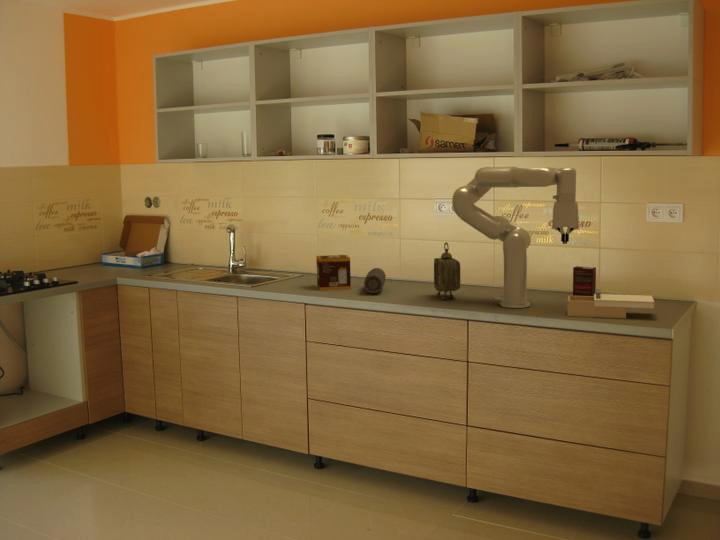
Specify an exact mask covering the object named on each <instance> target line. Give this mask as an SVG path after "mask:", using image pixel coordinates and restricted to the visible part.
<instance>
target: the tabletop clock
mask: <svg viewBox="0 0 720 540" xmlns="http://www.w3.org/2000/svg"><path fill="white" fill-rule="evenodd" d="M449 246H450V245H449V244H448V242H447V241H446V242H444V244H443V247H444V252H443V253H441V255H440V257H434V258H433V259H434V261H433V283H434V289H435V290H436V291H437V293H436V295H437V296H438V297H439V296H440V295H441V293H442V292H444V293H443V296H442V297H441V300H442V301H445V300H447V299H446V294H447V293H448V292H449V298H454V295H453V294H452V292H456V291H458V290H461V289H460V288H461V263H460V261H459V260H457V259H456V258H453V255H452V254H451V253H450V252H449ZM446 247H447V248H446Z"/></svg>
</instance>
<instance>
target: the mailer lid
mask: <svg viewBox="0 0 720 540" xmlns="http://www.w3.org/2000/svg"><path fill="white" fill-rule="evenodd" d="M653 297H654V296H653V295H642V294H641V295H640V294H639V295H637V294H636V295H635V294H634V295H633V294H613V293H612V294H607V293H606V294H605V293H601V289H600V288H596V294H594V306H603V307H626V308H634V309H654V308H655V300H654V298H653Z"/></svg>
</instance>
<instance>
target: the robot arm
mask: <svg viewBox="0 0 720 540" xmlns="http://www.w3.org/2000/svg"><path fill="white" fill-rule="evenodd" d="M555 185H556V194H555V195H552V199H553V200H555V201H554V203H553V208H552V209H553V210H552V218H551V219H552V226H551V229H552V230H556V231H558V232H559V233H560V234H561V235H560V239H561V240H560V241H561V242H562V245H567V244H568V243H569V241H570V240H569V239H570V234H571V233H572V232H573V231H575V230H580V229H579V228H580V227H579V205H578V201H576V196H577V194H576V192H577V191H576V190H577V170H576V168H574V167H560V168H557V167H552V166H551V167H550V166H549V167H547V166H546V167H537V168H536V167H535V168H533V167H532V168H529V167H528V168H526V167H525V168H524V167H523V168H522V167H518V166H492V167H491V166H483V167H480V168H479V169H478V170H476V171H475V173H474V177H473V179H472V180H471V181H469V182H468V183H467V184H466V185H463V186H459V187H458V188H457V189H456V190H455V191H454V192H453V195H452V199H451V203H452V208H453V211H454V213H455V214H456V216H457V217H458V218H459V219H460V220H462V221H463V222H464V223H466V224H467V225H469V226H470V227H472V228H473V229H475V230H476V231H478V232H479V233H481V234H482V235H484V236H485V237H487V238H488V239H490V240H493V241H494V240H499V241H500V242H502V251H503V252H502V253H503V293H502V294H500V295H492V300H493V301H500V302H499V306H500V307H502V308H507V309H525V308H526V309H527V308H528V307H530V306H531V302H529V301H527V284H528V283H527V281H528V278H527V275H528V256H527V249H528V248H529V246H530V245H531V242H532V238H531V234H529V232H528V231H527V230H526V229H524V228H522V227H521V226H519V225H518V224H516V223H514V222H513V221H512V220H509V219H508V218H506V217H504V216H502V215H495V216H494V215H492V214H490V213H488V212H486V211H485V210H484V209H482V208H481V207H479V206H477V205H476V203H478V201H479V200H480V199H481V198H483V197H484V196H485V195H486V194H487V193H488V192H489V191H490V190H491V189H492V188H537V187H538V188H547V187H549V186H555ZM565 228H567V229H566V232H565V231H564V229H565Z"/></svg>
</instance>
